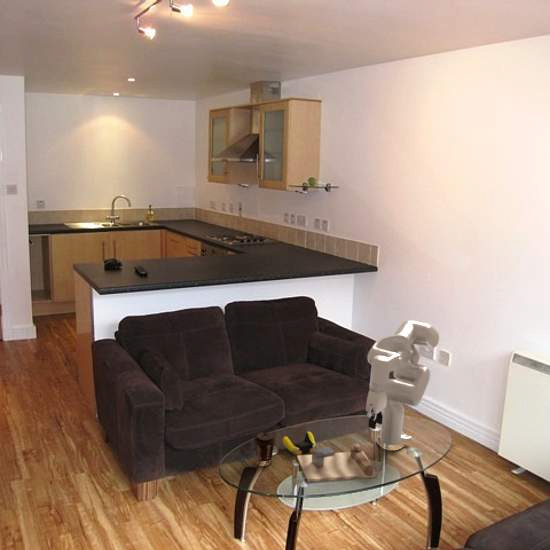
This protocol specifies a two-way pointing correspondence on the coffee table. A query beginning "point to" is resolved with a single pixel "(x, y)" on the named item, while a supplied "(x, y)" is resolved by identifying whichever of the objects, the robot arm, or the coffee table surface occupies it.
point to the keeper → (321, 455)
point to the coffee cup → (264, 446)
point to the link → (362, 461)
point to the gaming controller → (300, 445)
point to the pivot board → (333, 467)
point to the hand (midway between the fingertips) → (375, 425)
